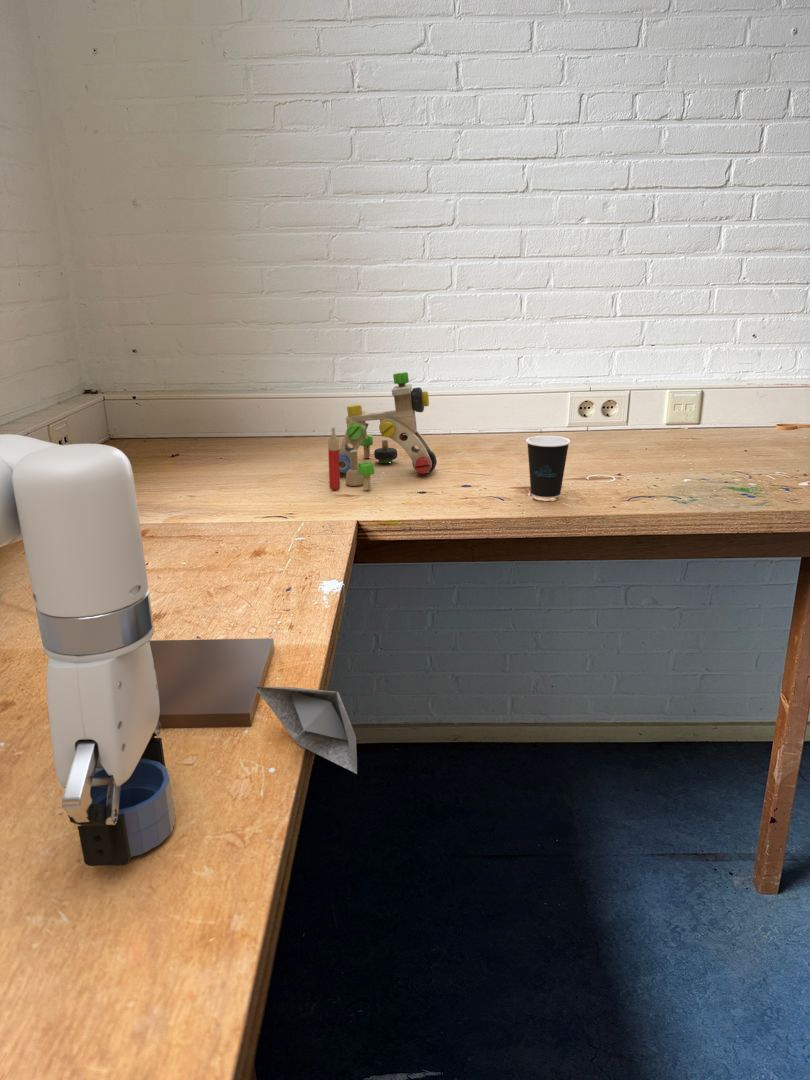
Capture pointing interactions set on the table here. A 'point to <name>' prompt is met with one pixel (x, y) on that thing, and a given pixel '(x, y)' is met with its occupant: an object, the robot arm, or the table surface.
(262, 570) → the table surface
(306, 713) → the paper boat
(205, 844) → the table surface
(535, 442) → the dixie cup
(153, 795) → the bowl
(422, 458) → the toy construction set
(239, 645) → the board
